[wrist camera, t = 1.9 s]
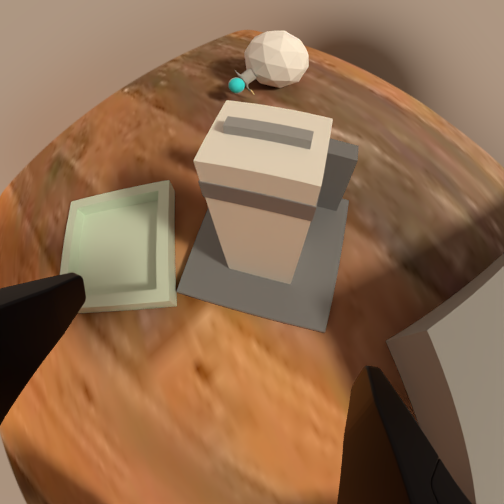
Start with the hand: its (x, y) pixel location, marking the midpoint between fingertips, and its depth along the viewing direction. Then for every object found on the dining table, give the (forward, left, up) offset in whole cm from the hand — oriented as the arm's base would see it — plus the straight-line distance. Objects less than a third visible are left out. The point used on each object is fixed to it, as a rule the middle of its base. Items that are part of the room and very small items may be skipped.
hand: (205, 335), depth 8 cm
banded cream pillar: (+6, +6, -14) cm, 16 cm away
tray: (-5, +13, -14) cm, 20 cm away
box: (+25, -23, -15) cm, 37 cm away
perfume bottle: (+19, +25, -14) cm, 34 cm away
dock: (+6, +6, -14) cm, 16 cm away
